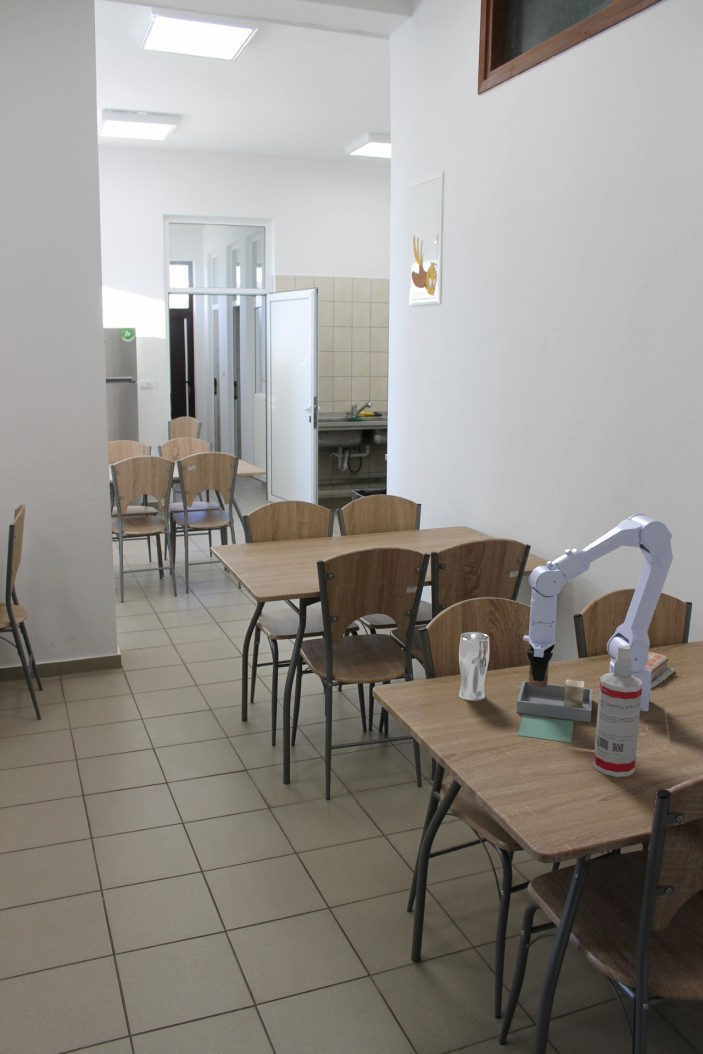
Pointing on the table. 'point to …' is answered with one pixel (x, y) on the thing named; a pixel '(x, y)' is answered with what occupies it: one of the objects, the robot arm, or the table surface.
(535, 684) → the walnut block
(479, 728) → the table surface
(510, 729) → the table surface
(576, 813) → the table surface
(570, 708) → the tray
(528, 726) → the mat
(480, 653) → the beer glass
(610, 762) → the spray bottle
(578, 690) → the birch block
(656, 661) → the packaged product
